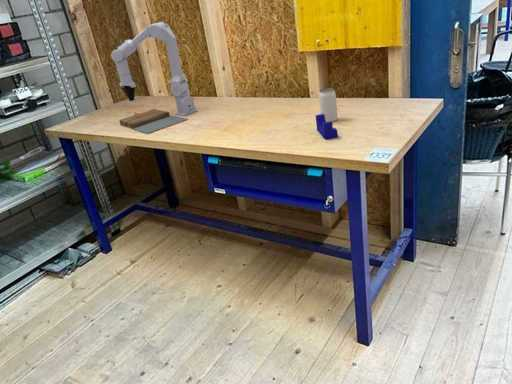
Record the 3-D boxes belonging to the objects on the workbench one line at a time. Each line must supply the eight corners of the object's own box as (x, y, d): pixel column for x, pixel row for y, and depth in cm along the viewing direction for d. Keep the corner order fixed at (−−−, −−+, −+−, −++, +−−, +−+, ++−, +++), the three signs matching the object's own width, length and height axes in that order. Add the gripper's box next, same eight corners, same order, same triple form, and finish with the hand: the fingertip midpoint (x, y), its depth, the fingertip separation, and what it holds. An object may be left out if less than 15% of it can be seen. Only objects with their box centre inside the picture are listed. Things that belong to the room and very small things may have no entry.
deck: (170, 116, 214) (168, 112, 213) (134, 129, 203) (133, 124, 202) (155, 113, 225) (154, 109, 224) (120, 125, 215) (119, 120, 214)
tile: (151, 113, 215) (150, 110, 214) (140, 117, 212) (139, 113, 211) (145, 112, 220) (144, 108, 219) (134, 116, 217) (133, 112, 216)
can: (338, 117, 168) (336, 87, 163) (336, 122, 163) (333, 91, 158) (322, 118, 171) (320, 88, 166) (319, 123, 165) (316, 92, 160)
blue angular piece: (337, 138, 148) (336, 121, 145) (325, 140, 148) (323, 123, 145) (328, 128, 159) (327, 112, 156) (317, 130, 158) (315, 115, 156)
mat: (188, 119, 203) (188, 118, 203) (147, 134, 191) (147, 133, 191) (171, 116, 214) (171, 115, 214) (132, 129, 202) (132, 128, 202)
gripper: (111, 75, 216) (119, 101, 222) (123, 76, 206) (131, 103, 212) (124, 72, 220) (131, 97, 226) (136, 72, 210) (143, 99, 215)
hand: (132, 100), depth 219 cm, fingers closed
